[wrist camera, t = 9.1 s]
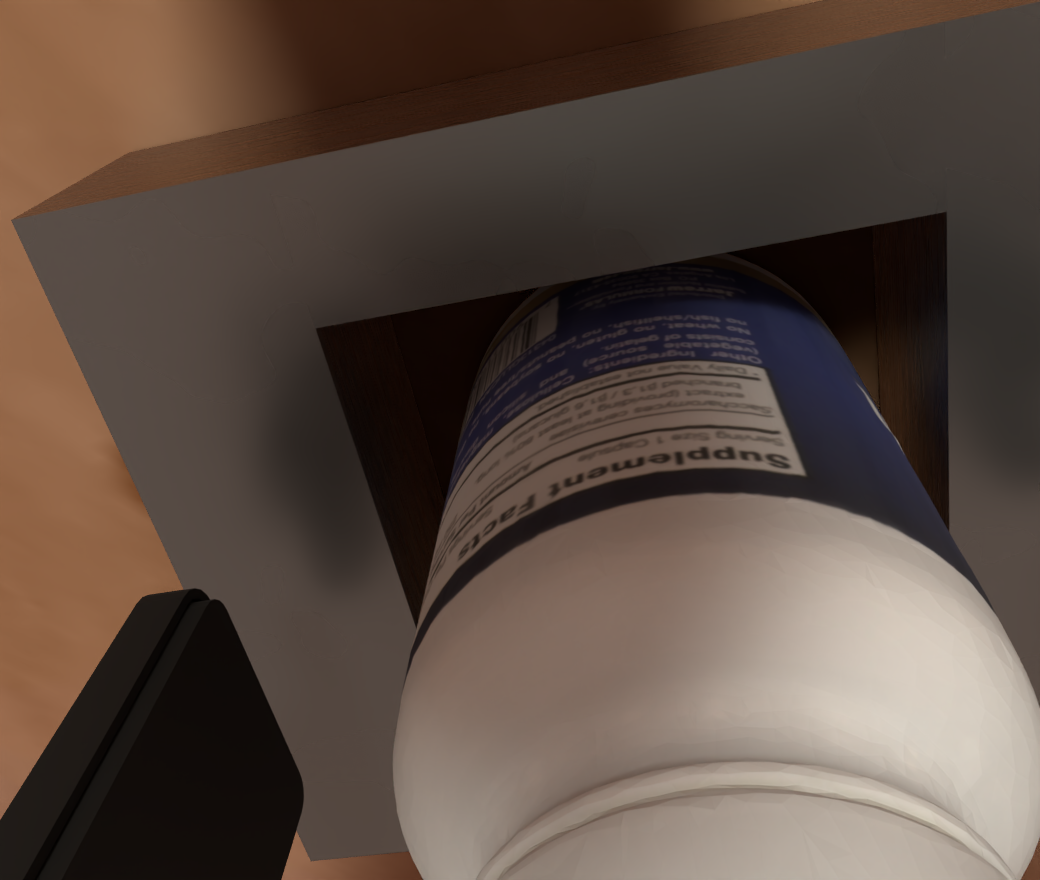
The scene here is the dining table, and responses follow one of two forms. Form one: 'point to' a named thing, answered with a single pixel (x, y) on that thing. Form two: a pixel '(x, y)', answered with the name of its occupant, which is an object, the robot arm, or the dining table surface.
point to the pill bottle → (701, 614)
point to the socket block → (525, 265)
